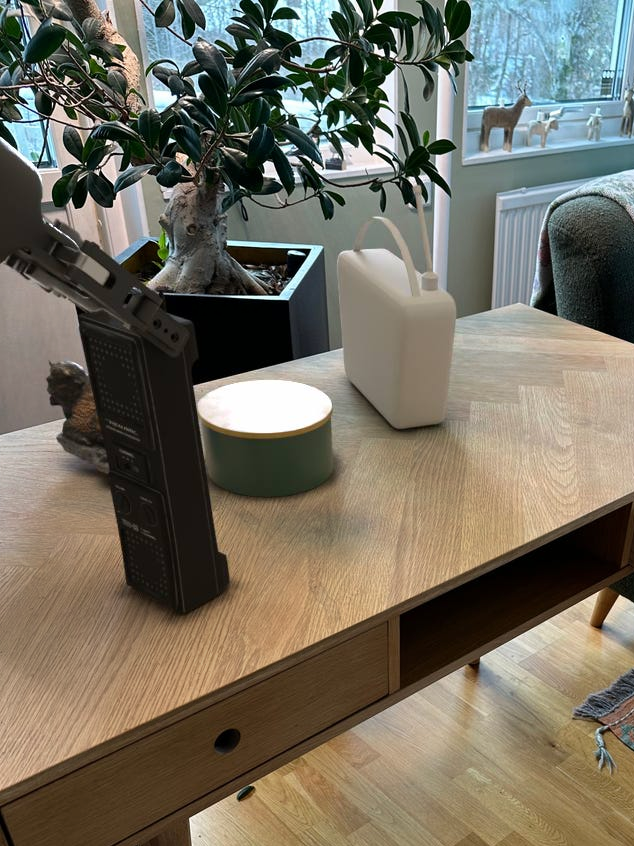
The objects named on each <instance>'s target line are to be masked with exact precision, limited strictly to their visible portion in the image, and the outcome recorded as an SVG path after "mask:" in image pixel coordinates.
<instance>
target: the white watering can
mask: <svg viewBox="0 0 634 846" xmlns="http://www.w3.org/2000/svg"><path fill="white" fill-rule="evenodd" d="M412 191H413V194H414V196H415V197H414V198H415V202H416V209H417V213H418V214H417V215H418V220H419V227H420V232H421V233H420V234H421V239H422V244H423V250H424V256H425V257H424V258H425V262H426V263H425V264H426V268H427V270H426V271H425V272H424V273H420V272H419V271H418V270H416V269H415V265H414V263H413V259H412V257H411V254H410V250H409V247H408V245H407V243H406V242H405V239H404V238H403V236H402V234H401V232H400V230H399V228H398V227H396V225H394V223H393V222H392V221H391V220H390V219H389V218H387V217H382V216H370V217H369V218H368V219H366V220H364V221H363V222H362V224H361V226H360V227H359V229H358V231H357V233H356V235H355V239H354V244H353V247H352V249H350V250H343V251H341V252H340V253H339V255H338V256H337V261H336V273H337V287H338V301H339V312H340V313H339V314H340V329H341V341H342V354H343V368H344V372H345V373H344V374H345V376H346V378H347V379H348V380H349V381H350V382H351V383H352V384H353V385H354V386H355V388H356V389H357V390H358V391H359V392H360V393H361V394H362V395H363V396H364V397H365V398H366V399H367V401H369V402H370V404H371V405H372V406H373V407H374V408H375V409H376V410H377V411H378V412H379V413H380V414H381V415H382V417H383V418H384V419H385V420H386V421H387V422H388V423H389V424H390V425H391V426H392V427H393V428H395V429H397V430H404V429H411V428H417V427H425V426H432V425H438V424H441V423H442V422H443V421H444V420H445V419H446V416H447V415H446V414H447V406H448V397H449V388H450V387H449V386H450V380H451V378H450V377H451V370H452V361H453V352H454V351H453V350H454V342H455V341H454V340H455V331H456V325H457V324H456V323H457V305H456V302H455V299H454V298H453V296H452V295H451V294H450V293H449V292H448V291H446V290H444V289H443V288H442V287H440V286H439V276H438V274H436V273H435V272H434V267H433V261H432V255H431V249H430V242H429V237H428V230H427V224H426V218H425V212H424V205H423V200H422V193H423V192H422V186H421V185H420V184H417V185H413V186H412ZM374 221H380V222H381V223H382V224H383V225H384V226H385V227H386V228H387V229H388V230H389V231H390V233H391V235H392V237H393V239H394V241H395V243H396V245H397V246H398V248H399V252H400V254H401V257H402V258H401V259H400V258H399V257H398V256H396V255H395V254H394V253H393V252H392V251H390V250H388V249H385V248H370V249H369V248H368V249H367V248H366V249H362V245H363V241H364V238H365V235H366V232H367V230H368V229H369V227H370V226H371V224H372V223H373V222H374Z"/></svg>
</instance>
